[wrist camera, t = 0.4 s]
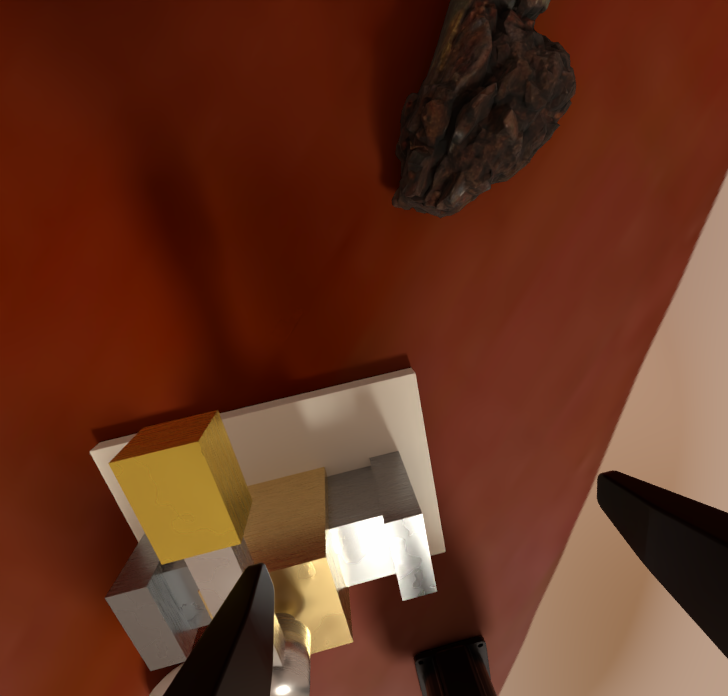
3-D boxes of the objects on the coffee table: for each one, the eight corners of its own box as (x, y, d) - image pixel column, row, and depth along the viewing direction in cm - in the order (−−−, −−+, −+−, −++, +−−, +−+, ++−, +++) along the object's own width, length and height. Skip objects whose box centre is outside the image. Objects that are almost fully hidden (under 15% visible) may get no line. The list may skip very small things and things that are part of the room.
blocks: (412, 517, 24) (445, 616, 18) (190, 576, 24) (140, 701, 17) (397, 448, 23) (428, 529, 16) (156, 509, 22) (86, 621, 15)
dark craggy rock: (501, -208, 15) (605, -462, 10) (619, -121, 16) (767, -298, 11) (369, 200, 19) (391, 182, 14) (473, 241, 20) (529, 240, 15)
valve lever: (317, 637, 17) (317, 714, 14) (258, 654, 17) (245, 734, 14) (230, 397, 13) (204, 439, 10) (149, 416, 13) (101, 464, 10)
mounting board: (441, 540, 27) (445, 551, 26) (187, 609, 26) (182, 623, 25) (411, 367, 22) (415, 373, 21) (99, 442, 21) (89, 451, 20)
